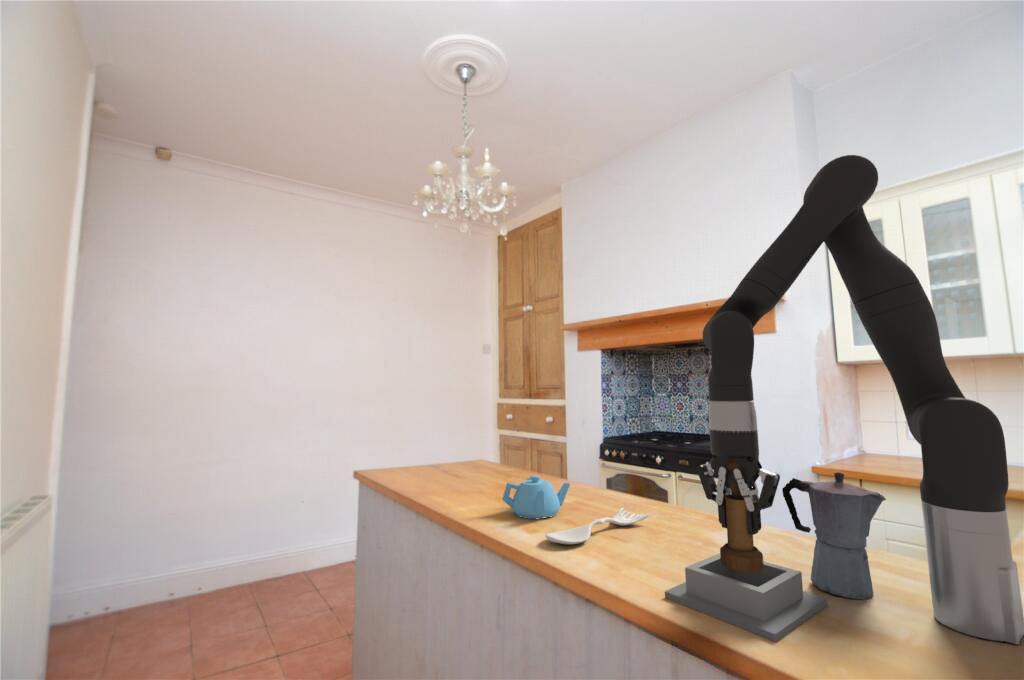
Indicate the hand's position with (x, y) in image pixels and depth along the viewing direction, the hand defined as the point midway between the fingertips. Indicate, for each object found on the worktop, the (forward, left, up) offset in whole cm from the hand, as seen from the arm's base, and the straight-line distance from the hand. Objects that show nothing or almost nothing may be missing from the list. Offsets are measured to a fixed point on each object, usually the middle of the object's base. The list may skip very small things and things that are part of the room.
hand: (739, 529), depth 79 cm
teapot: (+65, -9, -12) cm, 67 cm away
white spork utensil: (+41, -9, -12) cm, 44 cm away
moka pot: (-8, -17, -12) cm, 22 cm away
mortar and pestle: (0, 0, -6) cm, 6 cm away
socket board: (0, 0, -11) cm, 11 cm away
